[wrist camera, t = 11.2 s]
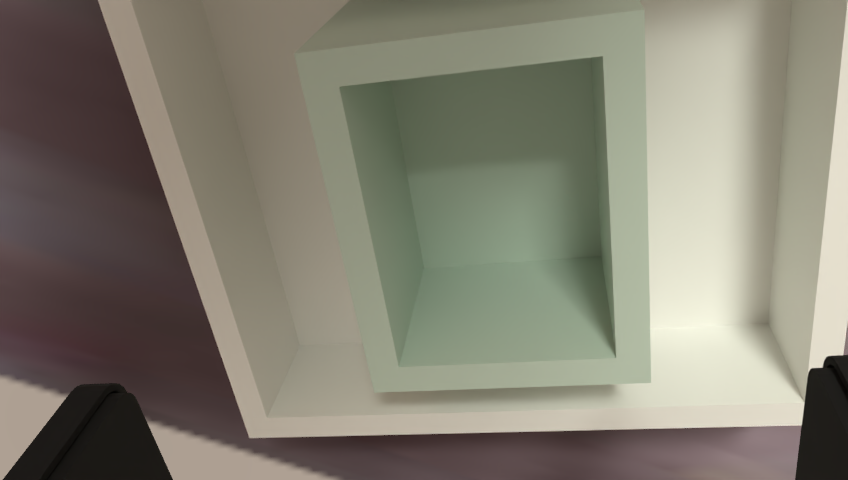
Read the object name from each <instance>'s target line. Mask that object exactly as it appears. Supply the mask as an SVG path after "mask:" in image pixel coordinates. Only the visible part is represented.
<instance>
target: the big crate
mask: <svg viewBox="0 0 848 480" xmlns="http://www.w3.org/2000/svg"><path fill="white" fill-rule="evenodd" d="M349 1H350V0H98V2H99V5H100V8H101V11H102V14H103V17H104V19H105V22H106V25H107V28H108V31H109V34H110V37H111V40H112V43H113V45H114V48H115V51H116V54H117V57H118V60H119V63H120V66H121V69H122V71H123V74H124V77H125V80H126V83H127V86H128V89H129V92H130V95H131V97H132V100H133V103H134V106H135V109H136V112H137V115H138V118H139V121H140V123H141V126H142V129H143V132H144V135H145V138H146V141H147V144H148V147H149V149H150V152H151V155H152V158H153V161H154V164H155V167H156V170H157V173H158V175H159V178H160V181H161V184H162V187H163V190H164V193H165V196H166V199H167V201H168V204H169V207H170V210H171V213H172V216H173V219H174V222H175V225H176V227H177V230H178V233H179V236H180V239H181V242H182V245H183V248H184V251H185V253H186V256H187V259H188V262H189V265H190V268H191V271H192V274H193V277H194V279H195V282H196V285H197V288H198V291H199V294H200V297H201V300H202V303H203V305H204V308H205V311H206V314H207V317H208V320H209V323H210V326H211V329H212V331H213V334H214V337H215V340H216V343H217V346H218V349H219V352H220V355H221V357H222V360H223V363H224V366H225V369H226V372H227V375H228V378H229V381H230V383H231V386H232V389H233V392H234V395H235V398H236V401H237V404H238V407H239V409H240V412H241V415H242V418H243V421H244V424H245V427H246V430H247V433H248V435H249V438H277V437H320V436H363V435H406V434H449V433H492V432H535V431H578V430H621V429H664V428H707V427H749V426H792V425H802V420H803V411H804V403H805V395H806V386H807V378H808V373H809V371H810V369H812V368H823V363H824V360H825V359H826V357H828V356H837V355H843V352H844V344H845V337H846V329H847V322H848V0H639V1H640V2H641V4H642V6H643V8H644V14H645V70H646V126H647V182H648V238H649V294H650V350H651V383H634V384H605V385H577V386H549V387H521V388H493V389H465V390H437V391H409V392H381V393H374V389H373V385H372V381H371V377H370V372H369V368H368V364H367V360H366V356H365V351H364V347H363V343H362V339H361V334H360V330H359V326H358V322H357V318H356V313H355V309H354V305H353V301H352V296H351V292H350V288H349V284H348V280H347V275H346V271H345V267H344V263H343V258H342V254H341V250H340V246H339V242H338V237H337V233H336V229H335V225H334V220H333V216H332V212H331V208H330V204H329V199H328V195H327V191H326V187H325V182H324V178H323V174H322V170H321V166H320V161H319V157H318V153H317V149H316V145H315V140H314V136H313V132H312V128H311V123H310V119H309V115H308V111H307V107H306V102H305V98H304V94H303V90H302V85H301V81H300V77H299V73H298V69H297V64H296V60H295V56H294V53H295V52H296V51H297V50H298V49H299V48H300V47H301V46H302V45H303V44H305V43H306V42H307V41H308V40H309V39H310V38H311V37H312V36H313V35H314V34H315V33H316V32H317V31H318V30H319V29H320V28H321V27H322V26H323V25H324V24H325V23H327V22H328V21H329V20H330V19H331V18H332V17H333V16H334V15H335V14H336V13H337V12H338V11H339V10H340V9H341V8H342V7H343V6H344V5H345V4H346V3H347V2H349Z"/></svg>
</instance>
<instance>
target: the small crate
mask: <svg viewBox="0 0 848 480" xmlns="http://www.w3.org/2000/svg"><path fill="white" fill-rule="evenodd" d="M294 56H295V60H296V64H297V69H298V73H299V77H300V81H301V85H302V90H303V94H304V98H305V102H306V107H307V111H308V115H309V119H310V123H311V128H312V132H313V136H314V140H315V145H316V149H317V153H318V157H319V161H320V166H321V170H322V174H323V178H324V182H325V187H326V191H327V195H328V199H329V204H330V208H331V212H332V216H333V220H334V225H335V229H336V233H337V237H338V242H339V246H340V250H341V254H342V258H343V263H344V267H345V271H346V275H347V280H348V284H349V288H350V292H351V296H352V301H353V305H354V309H355V313H356V318H357V322H358V326H359V330H360V334H361V339H362V343H363V347H364V351H365V356H366V360H367V364H368V368H369V372H370V377H371V381H372V385H373V389H374V393H381V392H409V391H437V390H465V389H493V388H521V387H549V386H577V385H605V384H634V383H651V350H650V294H649V238H648V182H647V126H646V70H645V14H644V8H643V6H642V4H641V2H640V1H639V0H350V1H349V2H347V3H346V4H345V5H344V6H343V7H342V8H341V9H340V10H339V11H338V12H337V13H336V14H335V15H334V16H333V17H332V18H331V19H330V20H329V21H328V22H327V23H325V24H324V25H323V26H322V27H321V28H320V29H319V30H318V31H317V32H316V33H315V34H314V35H313V36H312V37H311V38H310V39H309V40H308V41H307V42H306V43H305V44H303V45H302V46H301V47H300V48H299V49H298V50H297V51H296V52H295V53H294Z"/></svg>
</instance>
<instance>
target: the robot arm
mask: <svg viewBox="0 0 848 480" xmlns="http://www.w3.org/2000/svg"><path fill="white" fill-rule="evenodd" d="M3 480H173V479H172V477H171V475H170V472H169V470H168V468H167V466H166V464H165V462H164V459H163V457H162V455H161V453H160V450H159V448H158V446H157V444H156V441H155V439H154V437H153V435H152V433H151V431H150V428H149V426H148V424H147V422H146V419H145V417H144V415H143V413H142V410H141V408H140V406H139V404H138V402H137V399H136V398H135V396H134V395H133V394H131V393H127V391H126V390H125V388H124V387H123V386H121V385H120V384H115V383H110V384H84V385H80V386H77V387H76V388H75V389H74V390H73V391H72V392H71V393H70V394H69V395H68V397H67V398H66V399H65V400H64V402H63V403H62V404H61V406H60V407H59V408H58V410H57V411H56V412H55V413H54V415H53V416H52V417H51V419H50V420H49V421H48V422H47V424H46V425H45V426H44V427H43V429H42V430H41V431H40V433H39V434H38V435H37V436H36V438H35V439H34V440H33V442H32V443H31V444H30V445H29V447H28V448H27V449H26V451H25V452H24V453H23V454H22V456H21V457H20V458H19V460H18V461H17V462H16V464H15V465H14V466H13V467H12V469H11V470H10V471H9V472H8V474H7V475H6V476H5V478H4V479H3ZM795 480H848V355H837V356H828V357H826V359H825V360H824V363H823V368H812V369H810V371H809V373H808V378H807V386H806V395H805V403H804V411H803V420H802V428H801V436H800V445H799V453H798V461H797V470H796V478H795Z"/></svg>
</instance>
